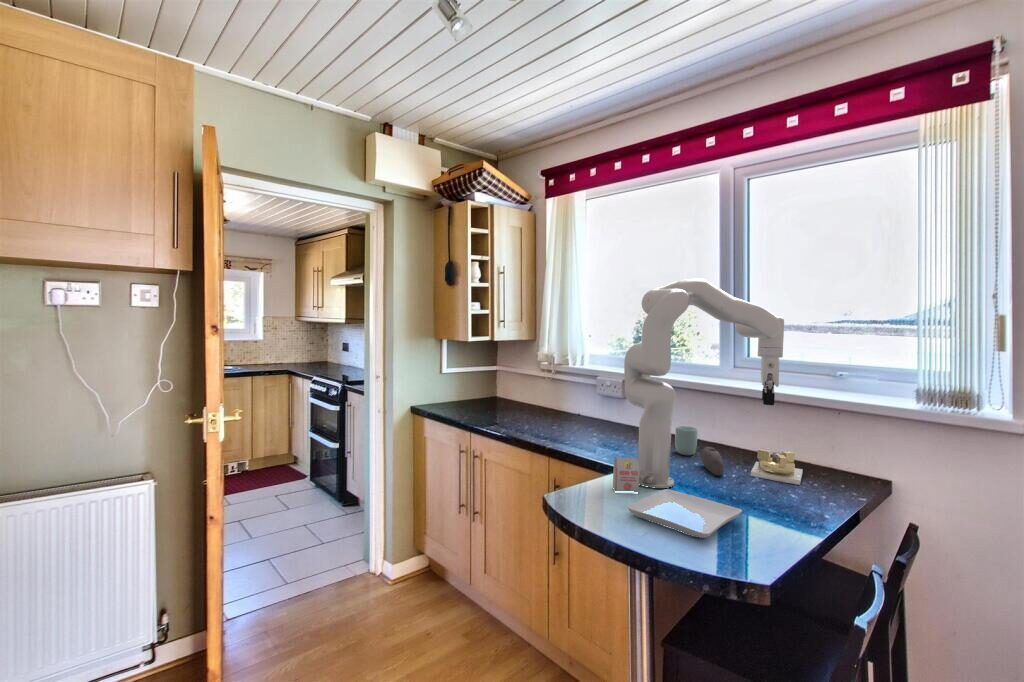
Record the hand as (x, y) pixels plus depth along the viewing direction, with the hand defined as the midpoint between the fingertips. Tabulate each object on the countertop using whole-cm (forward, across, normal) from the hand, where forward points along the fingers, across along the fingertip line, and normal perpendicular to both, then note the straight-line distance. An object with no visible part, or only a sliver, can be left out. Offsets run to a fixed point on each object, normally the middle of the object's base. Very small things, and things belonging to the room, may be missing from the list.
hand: (767, 402), depth 165 cm
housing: (+23, -4, -3) cm, 24 cm away
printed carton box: (+23, -46, +38) cm, 64 cm away
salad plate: (+23, -58, +21) cm, 66 cm away
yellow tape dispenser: (+21, -4, -3) cm, 22 cm away
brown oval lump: (+23, -12, +16) cm, 30 cm away
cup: (+23, +6, +26) cm, 36 cm away
